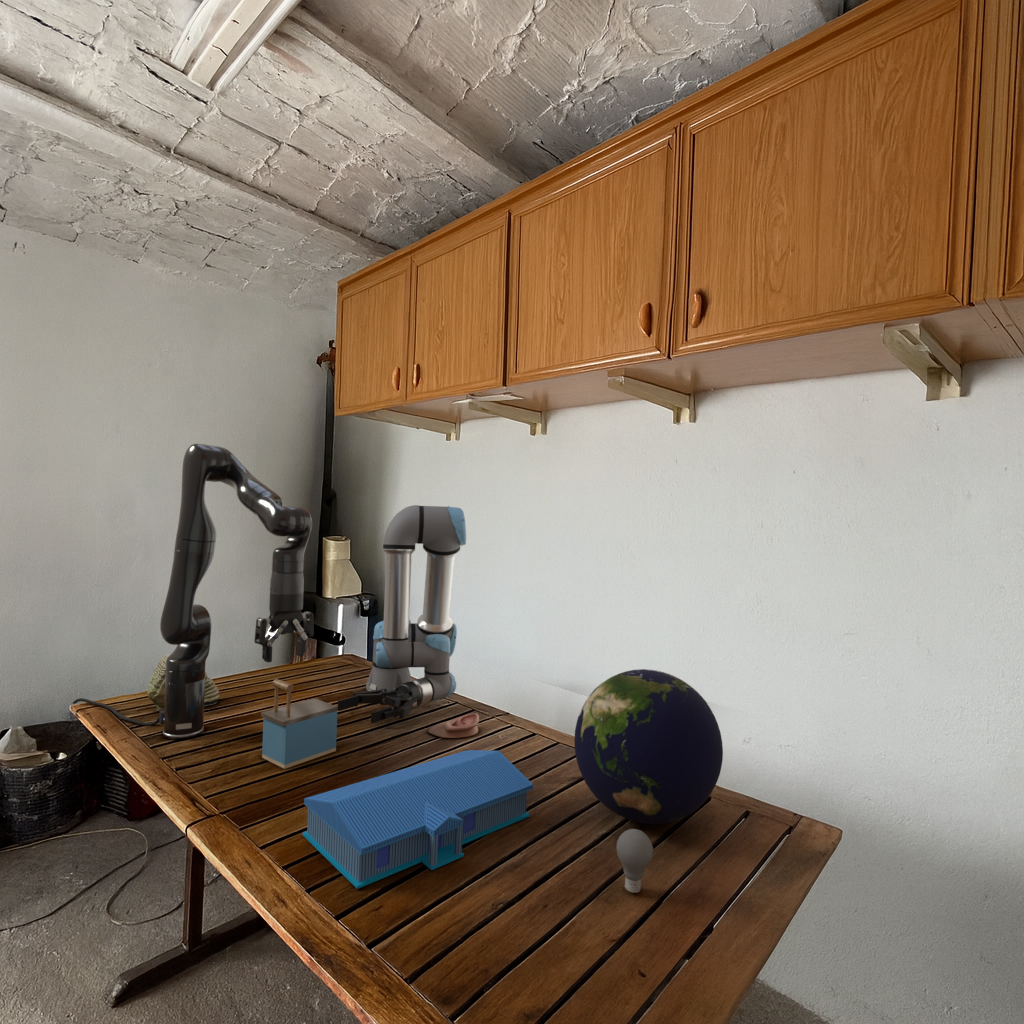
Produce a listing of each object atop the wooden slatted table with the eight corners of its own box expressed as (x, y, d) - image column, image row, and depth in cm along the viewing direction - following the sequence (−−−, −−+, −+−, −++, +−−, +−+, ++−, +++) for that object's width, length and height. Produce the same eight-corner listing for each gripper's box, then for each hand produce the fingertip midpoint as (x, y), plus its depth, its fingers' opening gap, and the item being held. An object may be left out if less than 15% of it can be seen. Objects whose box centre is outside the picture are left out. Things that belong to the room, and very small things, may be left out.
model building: (367, 898, 100) (369, 836, 100) (301, 833, 119) (303, 781, 118) (541, 822, 127) (543, 772, 127) (465, 778, 145) (467, 735, 145)
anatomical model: (424, 720, 170) (437, 707, 181) (423, 735, 170) (437, 721, 181) (472, 726, 167) (482, 712, 179) (471, 741, 167) (482, 726, 179)
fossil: (144, 707, 182) (145, 655, 182) (212, 696, 194) (213, 647, 194) (151, 716, 175) (153, 662, 175) (221, 703, 188) (223, 653, 188)
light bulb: (610, 879, 108) (613, 822, 108) (644, 879, 109) (647, 822, 109) (619, 902, 102) (622, 840, 102) (655, 901, 103) (658, 840, 103)
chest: (284, 768, 146) (286, 725, 146) (261, 757, 152) (263, 716, 152) (336, 750, 158) (337, 710, 158) (313, 740, 164) (314, 702, 163)
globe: (552, 832, 123) (559, 678, 123) (592, 773, 151) (597, 648, 150) (712, 872, 112) (721, 703, 111) (723, 800, 140) (730, 665, 139)
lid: (283, 726, 146) (284, 688, 145) (260, 716, 151) (261, 679, 151) (337, 710, 158) (338, 675, 157) (314, 702, 163) (315, 668, 163)
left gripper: (268, 595, 142) (265, 667, 142) (321, 589, 153) (319, 656, 154) (250, 591, 147) (247, 660, 147) (303, 586, 158) (301, 651, 158)
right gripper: (443, 717, 177) (386, 738, 160) (383, 697, 192) (325, 714, 175) (445, 690, 177) (387, 708, 160) (384, 672, 192) (326, 687, 175)
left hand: (284, 658), depth 150 cm, fingers open, 8 cm apart
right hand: (354, 711), depth 167 cm, fingers open, 13 cm apart
